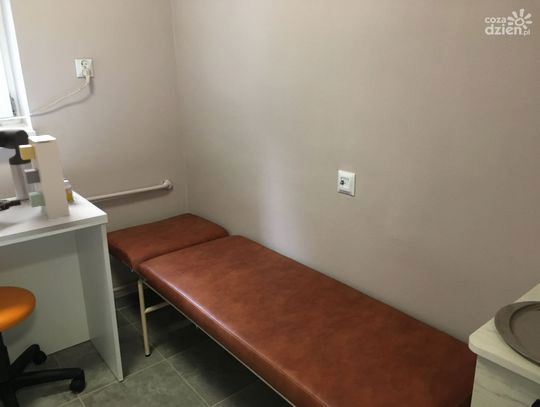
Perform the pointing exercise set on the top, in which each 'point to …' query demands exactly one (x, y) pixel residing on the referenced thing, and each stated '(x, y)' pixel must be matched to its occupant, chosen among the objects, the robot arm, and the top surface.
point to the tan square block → (27, 152)
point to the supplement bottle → (68, 191)
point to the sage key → (36, 199)
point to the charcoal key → (32, 176)
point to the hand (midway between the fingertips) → (20, 201)
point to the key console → (50, 176)
